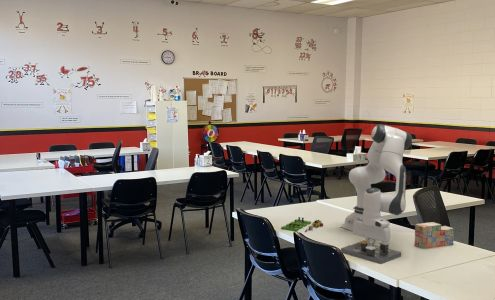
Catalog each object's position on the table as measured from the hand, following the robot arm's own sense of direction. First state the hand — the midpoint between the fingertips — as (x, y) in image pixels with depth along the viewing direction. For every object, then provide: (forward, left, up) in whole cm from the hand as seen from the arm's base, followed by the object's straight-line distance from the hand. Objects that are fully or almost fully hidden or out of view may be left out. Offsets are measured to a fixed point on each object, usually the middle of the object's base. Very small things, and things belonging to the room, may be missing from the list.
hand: (370, 246), depth 246 cm
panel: (0, 0, -4) cm, 4 cm away
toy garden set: (-58, +14, -4) cm, 60 cm away
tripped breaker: (-3, 0, -1) cm, 4 cm away
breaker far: (+4, +6, -1) cm, 7 cm away
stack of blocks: (+14, +39, -4) cm, 42 cm away
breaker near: (+4, -6, -1) cm, 7 cm away
